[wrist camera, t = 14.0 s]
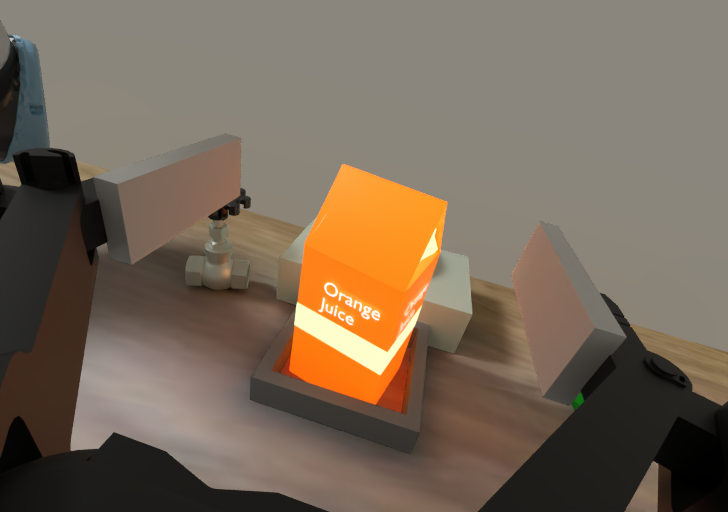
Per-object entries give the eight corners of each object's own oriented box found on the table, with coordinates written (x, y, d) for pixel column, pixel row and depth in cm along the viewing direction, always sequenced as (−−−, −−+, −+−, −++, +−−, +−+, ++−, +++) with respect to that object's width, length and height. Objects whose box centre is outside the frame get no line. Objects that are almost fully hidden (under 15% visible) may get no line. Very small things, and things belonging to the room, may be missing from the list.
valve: (197, 268, 44) (192, 178, 38) (251, 272, 46) (254, 186, 40) (181, 302, 39) (172, 203, 33) (243, 305, 40) (245, 211, 34)
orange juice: (332, 328, 40) (365, 156, 30) (400, 366, 37) (464, 190, 27) (287, 371, 34) (310, 172, 24) (365, 422, 31) (430, 219, 21)
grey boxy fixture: (210, 386, 31) (206, 308, 26) (312, 250, 53) (320, 195, 49) (454, 468, 29) (496, 399, 24) (454, 291, 51) (475, 238, 47)
